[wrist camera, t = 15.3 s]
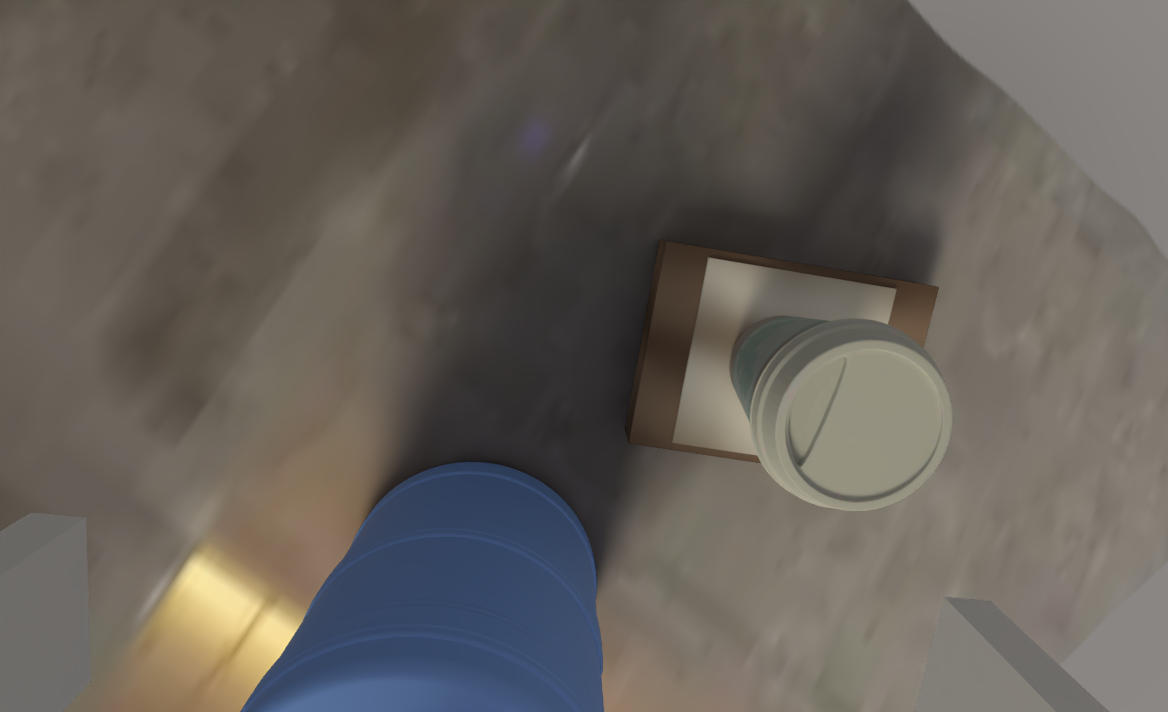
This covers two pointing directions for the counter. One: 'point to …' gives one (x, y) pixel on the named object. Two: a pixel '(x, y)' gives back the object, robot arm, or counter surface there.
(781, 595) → the counter surface
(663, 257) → the walnut plinth
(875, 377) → the coffee cup
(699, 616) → the counter surface
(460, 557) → the water jug
